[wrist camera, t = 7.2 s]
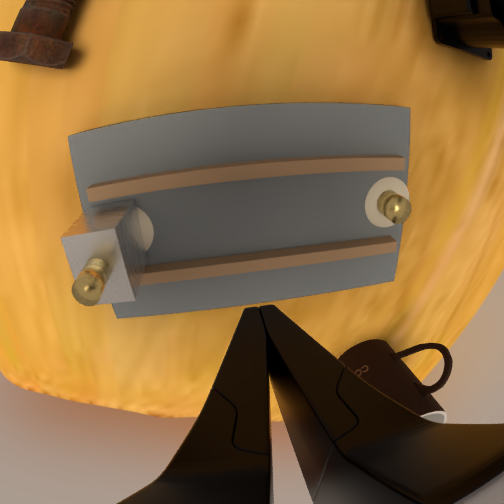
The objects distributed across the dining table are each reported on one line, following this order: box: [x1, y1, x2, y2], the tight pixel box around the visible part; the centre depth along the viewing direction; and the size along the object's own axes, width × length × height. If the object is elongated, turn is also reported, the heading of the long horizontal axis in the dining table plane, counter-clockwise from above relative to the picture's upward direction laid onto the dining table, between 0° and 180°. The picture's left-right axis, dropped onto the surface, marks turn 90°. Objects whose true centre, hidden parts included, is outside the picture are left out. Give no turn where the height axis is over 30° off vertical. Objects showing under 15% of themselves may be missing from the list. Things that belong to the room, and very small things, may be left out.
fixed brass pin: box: [377, 190, 411, 224], centre depth 19 cm, size 2×2×2 cm
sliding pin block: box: [61, 199, 148, 306], centre depth 15 cm, size 3×4×6 cm
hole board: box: [68, 103, 410, 319], centre depth 19 cm, size 21×13×2 cm, turn 94°
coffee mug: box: [338, 340, 452, 423], centre depth 24 cm, size 12×9×10 cm
